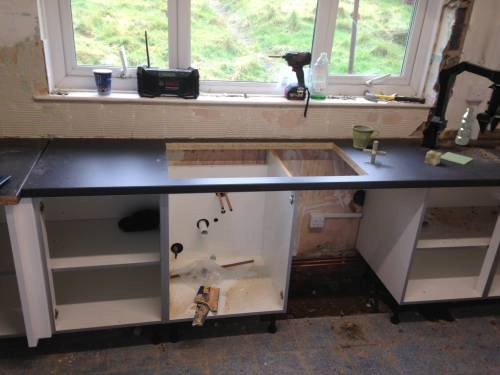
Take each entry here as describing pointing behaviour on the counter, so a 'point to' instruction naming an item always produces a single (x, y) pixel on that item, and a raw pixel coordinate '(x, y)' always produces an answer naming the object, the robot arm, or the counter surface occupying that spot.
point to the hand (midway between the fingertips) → (487, 133)
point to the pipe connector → (374, 152)
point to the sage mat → (456, 158)
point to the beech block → (433, 157)
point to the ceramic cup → (362, 136)
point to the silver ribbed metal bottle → (465, 127)
